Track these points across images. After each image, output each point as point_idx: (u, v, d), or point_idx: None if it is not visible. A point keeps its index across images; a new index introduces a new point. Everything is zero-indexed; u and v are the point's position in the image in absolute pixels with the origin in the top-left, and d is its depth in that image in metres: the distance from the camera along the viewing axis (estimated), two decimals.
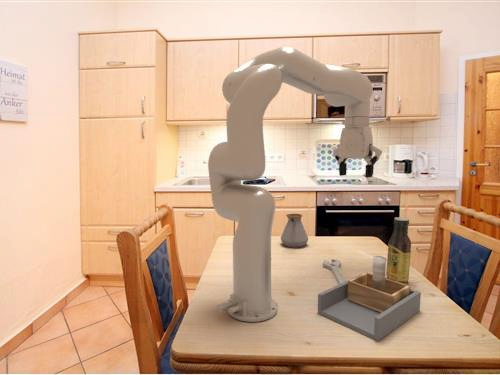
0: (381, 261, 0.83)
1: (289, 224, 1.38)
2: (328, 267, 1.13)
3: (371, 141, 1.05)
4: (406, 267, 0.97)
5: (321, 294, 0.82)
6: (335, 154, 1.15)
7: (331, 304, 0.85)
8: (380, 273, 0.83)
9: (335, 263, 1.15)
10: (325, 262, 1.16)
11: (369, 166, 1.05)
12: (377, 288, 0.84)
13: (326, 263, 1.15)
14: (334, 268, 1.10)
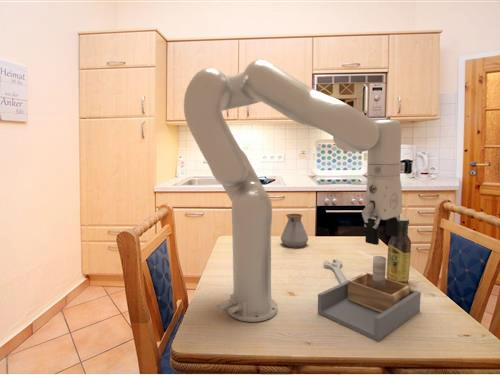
0: (381, 261, 0.83)
1: (289, 224, 1.38)
2: (329, 267, 1.13)
3: None
4: (406, 267, 0.97)
5: (321, 294, 0.82)
6: (368, 217, 0.78)
7: (331, 304, 0.85)
8: (380, 273, 0.83)
9: (336, 263, 1.14)
10: (326, 262, 1.15)
11: None
12: (377, 288, 0.84)
13: (327, 263, 1.14)
14: (335, 268, 1.10)
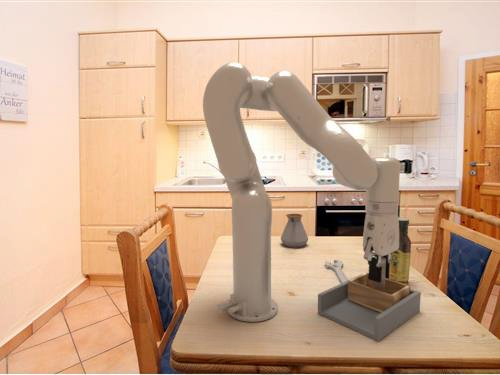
0: (381, 261, 0.83)
1: (289, 224, 1.38)
2: (330, 268, 1.12)
3: None
4: (406, 267, 0.97)
5: (321, 294, 0.82)
6: (371, 258, 0.81)
7: (331, 304, 0.85)
8: None
9: (337, 264, 1.14)
10: (327, 263, 1.15)
11: None
12: (377, 288, 0.84)
13: (328, 264, 1.14)
14: (337, 269, 1.10)
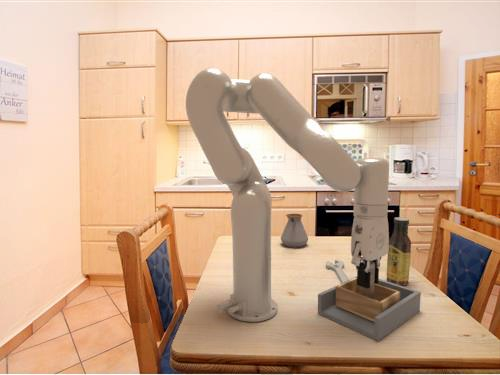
0: (370, 266, 0.80)
1: (289, 224, 1.38)
2: (331, 268, 1.12)
3: None
4: (406, 267, 0.97)
5: (321, 294, 0.82)
6: (359, 263, 0.77)
7: (331, 304, 0.85)
8: None
9: (338, 264, 1.14)
10: (328, 263, 1.15)
11: None
12: (366, 294, 0.81)
13: (329, 264, 1.14)
14: (337, 269, 1.09)
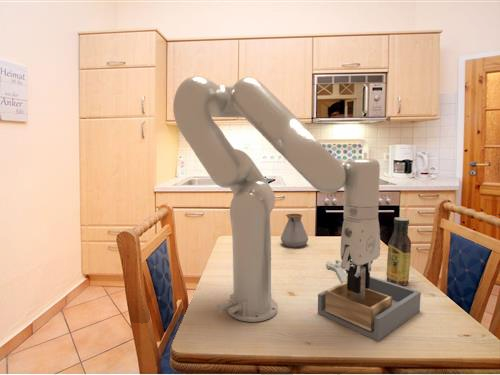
0: (360, 270, 0.77)
1: (289, 224, 1.38)
2: (332, 268, 1.12)
3: None
4: (406, 267, 0.97)
5: (321, 294, 0.82)
6: (348, 268, 0.75)
7: None
8: None
9: (339, 264, 1.13)
10: (329, 263, 1.15)
11: None
12: (356, 299, 0.78)
13: (330, 264, 1.14)
14: (338, 269, 1.09)
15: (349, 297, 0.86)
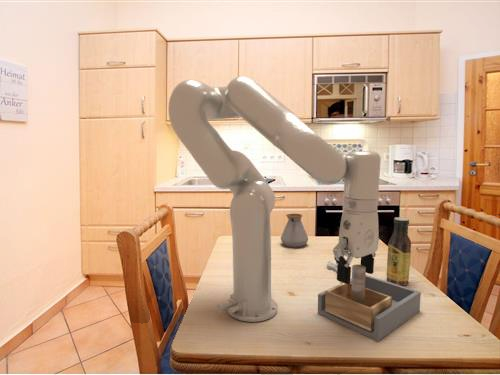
0: (360, 270, 0.77)
1: (289, 224, 1.38)
2: (332, 269, 1.12)
3: None
4: (406, 267, 0.97)
5: (321, 294, 0.82)
6: (340, 255, 0.73)
7: None
8: (359, 284, 0.77)
9: None
10: (329, 263, 1.14)
11: None
12: (356, 299, 0.78)
13: (330, 264, 1.13)
14: None
15: (349, 297, 0.86)
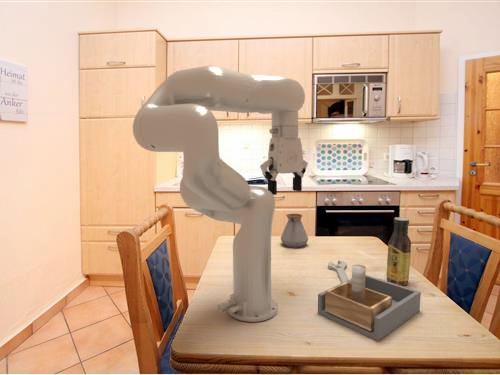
0: (360, 270, 0.77)
1: (289, 224, 1.38)
2: (333, 269, 1.11)
3: None
4: (406, 267, 0.97)
5: (321, 294, 0.82)
6: (265, 170, 0.92)
7: None
8: (359, 284, 0.77)
9: (341, 265, 1.13)
10: (330, 264, 1.14)
11: None
12: (356, 299, 0.78)
13: (331, 265, 1.13)
14: (339, 270, 1.09)
15: (349, 297, 0.86)
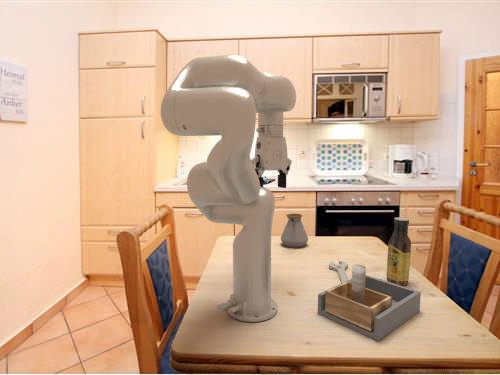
0: (360, 270, 0.77)
1: (289, 224, 1.38)
2: (334, 269, 1.11)
3: None
4: (406, 267, 0.97)
5: (321, 294, 0.82)
6: (253, 167, 0.96)
7: None
8: (359, 284, 0.77)
9: (341, 265, 1.13)
10: (331, 264, 1.14)
11: None
12: (356, 299, 0.78)
13: (332, 265, 1.13)
14: (340, 270, 1.08)
15: (349, 297, 0.86)
